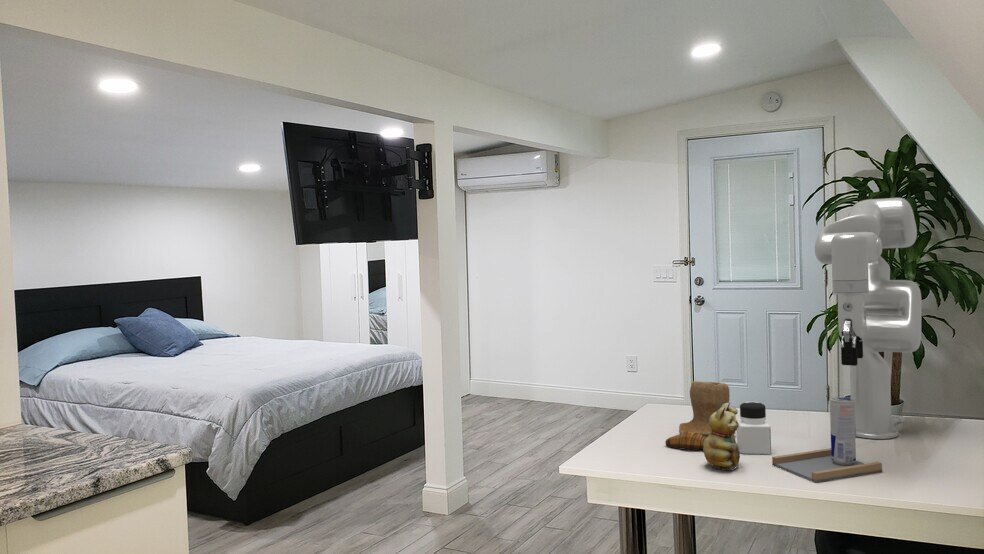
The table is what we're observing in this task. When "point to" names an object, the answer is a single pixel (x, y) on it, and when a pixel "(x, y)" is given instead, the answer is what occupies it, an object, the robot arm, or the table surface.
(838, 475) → the rail mat
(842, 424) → the beverage can
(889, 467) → the table surface
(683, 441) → the croissant
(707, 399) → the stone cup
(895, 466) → the table surface
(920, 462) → the table surface
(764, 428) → the medicine bottle
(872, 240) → the robot arm
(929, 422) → the table surface
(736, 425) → the decorative figurine
